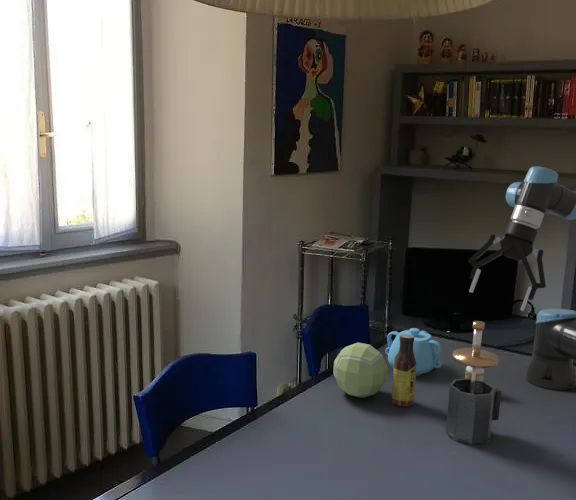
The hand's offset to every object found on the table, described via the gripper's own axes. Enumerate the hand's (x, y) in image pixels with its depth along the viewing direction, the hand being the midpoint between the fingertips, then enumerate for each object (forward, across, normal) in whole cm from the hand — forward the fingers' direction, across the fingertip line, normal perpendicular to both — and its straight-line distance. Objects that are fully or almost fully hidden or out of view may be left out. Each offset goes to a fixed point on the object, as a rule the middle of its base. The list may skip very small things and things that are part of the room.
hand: (495, 301), depth 167 cm
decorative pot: (+31, -20, +32) cm, 49 cm away
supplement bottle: (+28, +1, +24) cm, 37 cm away
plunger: (+26, +3, -7) cm, 27 cm away
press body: (+34, +6, -4) cm, 35 cm away
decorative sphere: (+39, -27, +5) cm, 48 cm away
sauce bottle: (+36, -15, +6) cm, 40 cm away
